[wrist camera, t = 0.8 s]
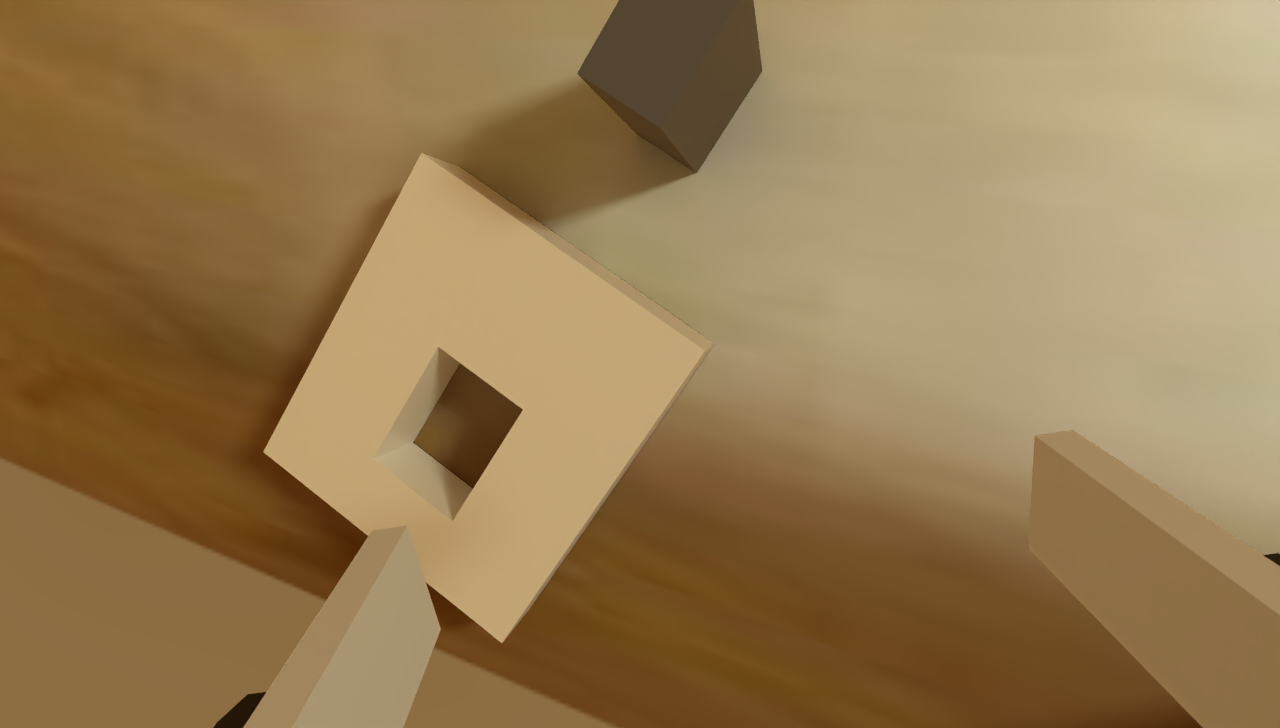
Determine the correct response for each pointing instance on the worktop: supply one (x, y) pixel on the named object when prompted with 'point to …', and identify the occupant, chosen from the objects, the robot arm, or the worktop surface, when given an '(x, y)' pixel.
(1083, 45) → the worktop surface
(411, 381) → the socket plate
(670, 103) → the plug
